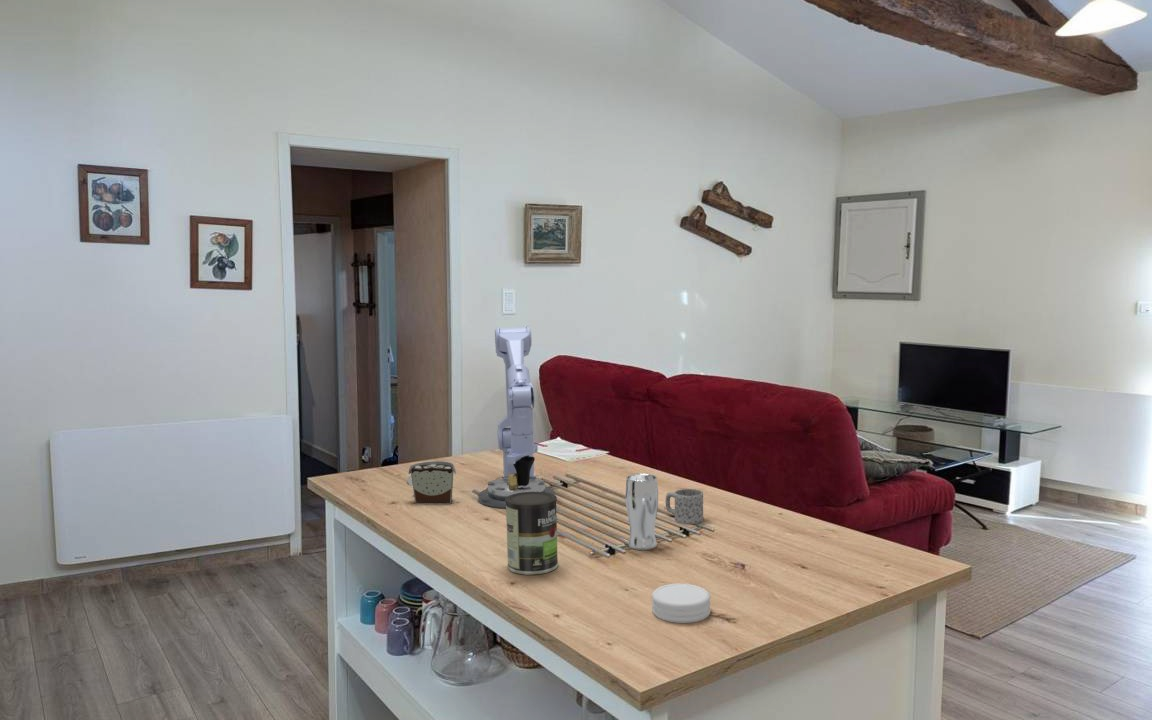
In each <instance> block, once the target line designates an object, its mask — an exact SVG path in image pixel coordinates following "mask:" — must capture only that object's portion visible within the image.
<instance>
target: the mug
mask: <svg viewBox="0 0 1152 720" xmlns="http://www.w3.org/2000/svg"><path fill="white" fill-rule="evenodd" d="M671 498H673V499H674V508H672V507H671ZM665 509H666V511H667V512H668V513H670V514H672V515H674V522H676V523H678V524H683V525H697V524H701V523H702V522H704V492H703V491H702V490H700V489H696V488H695V489H694V488H681V489H677V490H675V491H674V492H667V493H666V495H665Z"/></svg>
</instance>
